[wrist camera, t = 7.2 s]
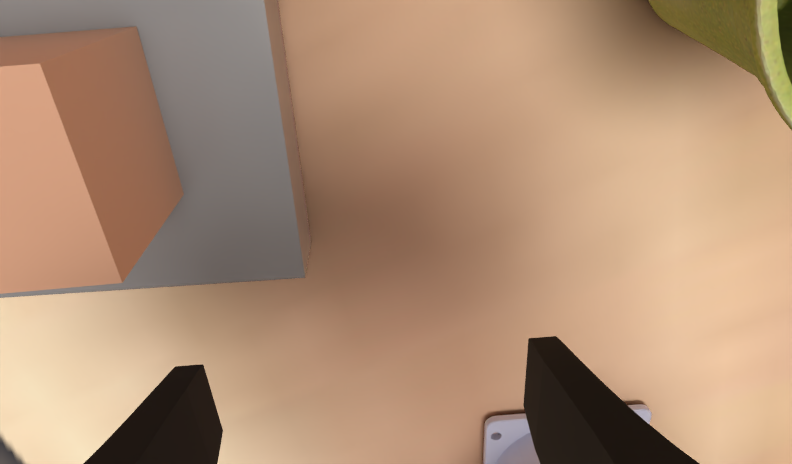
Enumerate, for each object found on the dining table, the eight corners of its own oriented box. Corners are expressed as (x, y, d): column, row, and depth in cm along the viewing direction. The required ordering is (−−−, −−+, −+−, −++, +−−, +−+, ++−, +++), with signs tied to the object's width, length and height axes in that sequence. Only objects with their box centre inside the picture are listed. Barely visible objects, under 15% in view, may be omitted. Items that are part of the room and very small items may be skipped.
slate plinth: (312, 236, 21) (305, 277, 19) (5, 255, 21) (-47, 300, 18) (263, -126, 16) (243, -140, 13) (-160, -106, 15) (-270, -117, 13)
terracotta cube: (184, 194, 17) (122, 282, 13) (23, 207, 17) (-95, 302, 12) (136, 26, 14) (40, 63, 10) (-51, 41, 14) (-231, 85, 10)
